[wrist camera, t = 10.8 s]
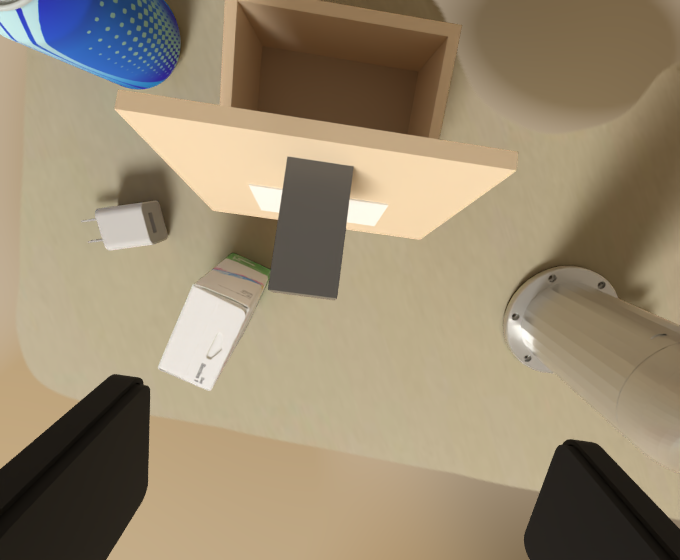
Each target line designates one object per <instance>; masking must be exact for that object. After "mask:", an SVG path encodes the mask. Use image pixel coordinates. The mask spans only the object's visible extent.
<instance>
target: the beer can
mask: <svg viewBox="0 0 680 560" xmlns="http://www.w3.org/2000/svg"><path fill="white" fill-rule="evenodd" d="M0 35H2V36H4V37H6V38H8V39H10V40H13V41H15V42H17V43H20V44H22V45H25V46H27V47H29V48H32V49H34V50H37V51H39V52H42V53H44V54H46V55H49V56H51V57H54V58H56V59H58V60H61V61H63V62H66V63H68V64H70V65H73V66H75V67H78V68H80V69H82V70H85V71H87V72H90V73H92V74H94V75H97V76H99V77H102V78H104V79H106V80H109V81H111V82H114V83H116V84H118V85H121V86H124V87H127V88H131V89H148V88H152V87H154V86H157V85H159V84H160V83H162V82H163V81H165V80H166V79H167V78H168V77H169V76H170V74H171V73H172V72H173V70H174V68H175V67H176V64H177V62H178V59H179V54H180V47H181V41H180V32H179V28H178V24H177V21H176V19H175V17H174V14H173V13H172V11H171V9H170V7H169V6H168V5H167V3H166V2H165V1H164V0H0Z"/></svg>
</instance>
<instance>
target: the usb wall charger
mask: <svg viewBox="0 0 680 560" xmlns="http://www.w3.org/2000/svg"><path fill="white" fill-rule="evenodd" d="M95 216H96V219H89V220H82V221H81V222H87V221H94V220H97V223H98V226H99V229H100V233H101V236H102V239H97V240H91V241H88V243H90V242H98V241H103V242H104V245H105V247H106V248H107V249H108V250H116V249H123V248H131V247H138V246H145V245H153V244H156V243H159V242H162V241H164V240H166V239H167V237H168V234H167V230H166V226H165V222H164V218H163V215H162V211H161V207H160V204H159V202H158V201H149V202H142V203H134V204H127V205H120V206H113V207H106V208H99V209H97V210H96V211H95Z"/></svg>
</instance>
